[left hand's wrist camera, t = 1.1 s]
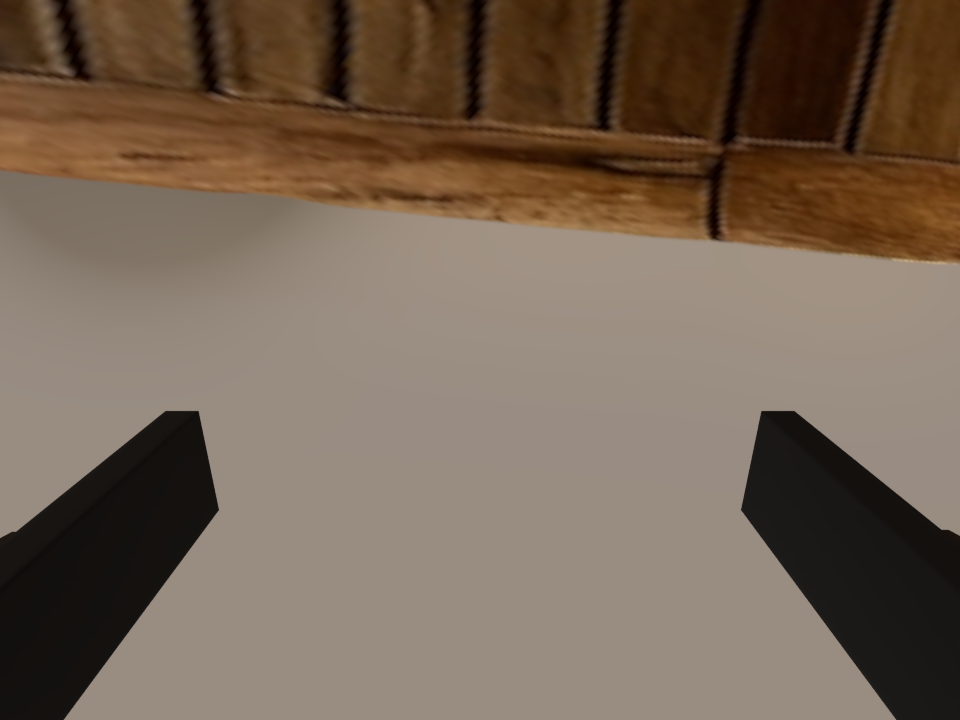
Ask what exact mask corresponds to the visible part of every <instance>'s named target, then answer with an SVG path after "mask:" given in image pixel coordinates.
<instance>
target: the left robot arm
mask: <svg viewBox="0 0 960 720" xmlns="http://www.w3.org/2000/svg"><path fill="white" fill-rule="evenodd" d="M218 511H219V508H218V503H217V498H216V493H215V489H214V484H213V479H212V474H211V469H210V464H209V460H208V455H207V450H206V445H205V440H204V435H203V430H202V426H201V421H200V416H199V412H198V411H165V412H164V413H163V414H161V415H160V416H159V417H158V418H156V419H155V420H154V421H153V422H152V423H150V424H149V425H148V426H147V427H145V428H144V429H143V430H142V431H140V432H139V433H138V434H137V435H135V436H134V437H133V438H132V439H130V440H129V441H128V442H127V443H126V444H124V445H123V446H122V447H121V448H119V449H118V450H117V451H116V452H114V453H113V454H112V455H111V456H109V457H108V458H107V459H106V460H105V461H103V462H102V463H101V464H100V465H98V466H97V467H96V468H95V469H93V470H92V471H91V472H90V473H88V474H87V475H86V476H85V477H83V478H82V479H81V480H80V481H79V482H77V483H76V484H75V485H74V486H72V487H71V488H70V489H69V490H67V491H66V492H65V493H64V494H62V495H61V496H60V497H59V498H57V499H56V500H55V501H54V502H52V503H51V504H50V505H49V506H48V507H46V508H45V509H44V510H43V511H41V512H40V513H39V514H38V515H36V516H35V517H34V518H33V519H31V520H30V521H29V522H28V523H26V524H25V525H24V526H23V527H22V528H20V529H19V530H18V531H17V532H11V533H9V534H7V535H5V536H3V537H2V538H0V720H64V719H65V717H66V716H67V714H68V713H69V712H70V710H71V709H72V708H73V706H74V705H75V704H76V702H77V701H78V700H79V698H80V697H81V696H82V694H83V693H84V692H85V690H86V689H87V688H88V686H89V685H90V683H91V682H92V681H93V679H94V678H95V677H96V675H97V674H98V673H99V671H100V670H101V669H102V667H103V666H104V665H105V663H106V662H107V660H108V659H109V658H110V656H111V655H112V654H113V652H114V651H115V650H116V648H117V647H118V646H119V644H120V643H121V642H122V640H123V639H124V637H125V636H126V635H127V633H128V632H129V631H130V629H131V628H132V627H133V625H134V624H135V623H136V621H137V620H138V619H139V617H140V616H141V615H142V613H143V612H144V611H145V609H146V608H147V606H148V605H149V604H150V602H151V601H152V600H153V598H154V597H155V596H156V594H157V593H158V592H159V590H160V589H161V588H162V586H163V585H164V583H165V582H166V581H167V579H168V578H169V577H170V575H171V574H172V573H173V571H174V570H175V569H176V567H177V566H178V565H179V563H180V562H181V561H182V559H183V558H184V556H185V555H186V554H187V552H188V551H189V550H190V548H191V547H192V546H193V544H194V543H195V542H196V540H197V539H198V538H199V536H200V535H201V533H202V532H203V531H204V529H205V528H206V527H207V525H208V524H209V523H210V521H211V520H212V519H213V517H214V516H215V515H216V513H217V512H218ZM741 511H742V512H743V513H744V515H745V516H746V517H747V519H748V520H749V521H750V523H751V524H752V525H753V527H754V528H755V529H756V531H757V532H758V533H759V535H760V536H761V538H762V539H763V540H764V541H765V543H766V544H767V546H768V547H769V548H770V550H771V551H772V552H773V554H774V555H775V556H776V558H777V559H778V561H779V562H780V563H781V565H782V566H783V567H784V569H785V570H786V571H787V573H788V574H789V575H790V577H791V578H792V579H793V581H794V582H795V583H796V585H797V586H798V587H799V589H800V590H801V592H802V593H803V594H804V596H805V597H806V598H807V600H808V601H809V602H810V604H811V605H812V606H813V608H814V609H815V610H816V612H817V613H818V615H819V616H820V617H821V619H822V620H823V621H824V623H825V624H826V625H827V627H828V628H829V629H830V631H831V632H832V633H833V635H834V636H835V637H836V639H837V640H838V641H839V643H840V644H841V646H842V647H843V648H844V650H845V651H846V652H847V654H848V655H849V656H850V658H851V659H852V660H853V662H854V663H855V664H856V666H857V667H858V669H859V670H860V671H861V673H862V674H863V675H864V677H865V678H866V679H867V681H868V682H869V683H870V685H871V686H872V688H873V689H874V690H875V692H876V693H877V694H878V696H879V697H880V698H881V700H882V701H883V702H884V704H885V705H886V706H887V708H888V709H889V710H890V712H891V713H892V714H893V716H894V717H895V719H896V720H960V536H959V535H957V534H955V533H953V532H951V531H950V530H941V529H940V528H938V527H937V526H936V525H935V524H934V523H932V522H931V521H930V520H929V519H927V518H926V517H925V516H924V515H922V514H921V513H920V512H919V511H917V510H916V509H915V508H914V507H912V506H911V505H910V504H909V503H908V502H906V501H905V500H904V499H903V498H901V497H900V496H899V495H898V494H896V493H895V492H894V491H893V490H891V489H890V488H889V487H888V486H886V485H885V484H884V483H883V482H882V481H880V480H879V479H878V478H876V477H875V476H874V475H873V474H872V473H870V472H869V471H868V470H867V469H865V468H864V467H863V466H862V465H860V464H859V463H858V462H857V461H856V460H854V459H853V458H852V457H851V456H849V455H848V454H847V453H846V452H844V451H843V450H842V449H841V448H839V447H838V446H837V445H836V444H834V443H833V442H832V441H831V440H830V439H828V438H827V437H826V436H825V435H823V434H822V433H821V432H820V431H818V430H817V429H816V428H815V427H813V426H812V425H811V424H810V423H808V422H807V421H806V420H805V419H803V418H802V417H801V416H800V415H799V414H797V413H796V412H795V411H762V412H761V416H760V421H759V426H758V431H757V435H756V440H755V445H754V450H753V455H752V460H751V464H750V469H749V474H748V479H747V484H746V489H745V494H744V498H743V503H742V508H741Z"/></svg>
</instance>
